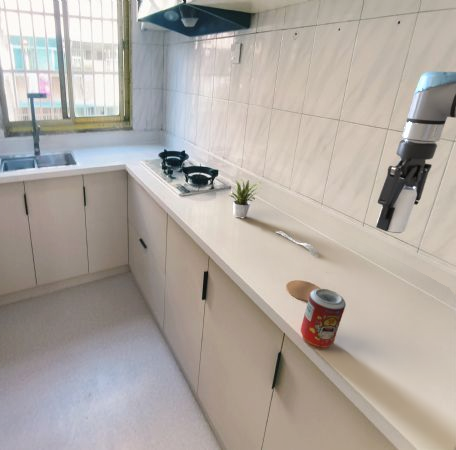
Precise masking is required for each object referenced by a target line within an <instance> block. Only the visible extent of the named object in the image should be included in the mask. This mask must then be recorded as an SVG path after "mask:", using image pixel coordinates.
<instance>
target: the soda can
mask: <svg viewBox="0 0 456 450" xmlns="http://www.w3.org/2000/svg"><path fill="white" fill-rule="evenodd" d="M346 305H347V304H346V300H345V299H344V297H342V295H340V294H339V293H338V292H336V291H333V290H330V289H328V288H321V289H316V290H313V291H312V292H311V293H310V296H309V300H308V302H307V304H306V308H305V311H304V314H303V318H302V321H301V322H302V323H301V326H300V333H301V338H302V340H303V342H304V343H305V344H306V345H308V346H309V347H311V348H314V349H317V350H325V349H328V348H329V346H331V345H333V343H334V341H335V338H336V337H337V333H338V330H339V327H340V324H341V321H342V317H343V315H344V312H345V308H346Z"/></svg>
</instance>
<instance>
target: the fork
mask: <svg viewBox="0 0 456 450" xmlns="http://www.w3.org/2000/svg"><path fill="white" fill-rule="evenodd" d="M275 234H278V235H280V236H283V237H285V238H286V239H288V240H290V241H292V242H293V243H295V244H297V245H301V246H303V247H305V248H306V250H308V251H309V253H310V254H311V255H312V256H313V257H314V258H318V257H320V256H319V254H318V252H317V251H316V250H315V248H314V247H313V245H312V244H310V243H307V242H304V243H301V242H298V241H296V240H295V239H294V238H292V237H291V236H289V235H288V234H287V233H285V232H283V231H281V230H276V231H275Z"/></svg>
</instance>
